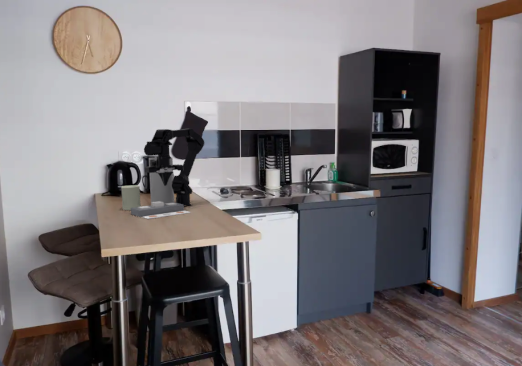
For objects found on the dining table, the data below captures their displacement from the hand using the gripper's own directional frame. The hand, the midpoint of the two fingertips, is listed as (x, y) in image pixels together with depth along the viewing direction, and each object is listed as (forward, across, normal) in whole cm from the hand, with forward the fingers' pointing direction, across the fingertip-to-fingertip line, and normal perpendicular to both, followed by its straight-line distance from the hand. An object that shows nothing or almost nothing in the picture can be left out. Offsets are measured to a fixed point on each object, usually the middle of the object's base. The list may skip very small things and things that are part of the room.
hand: (165, 185), depth 222 cm
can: (+12, +12, -15) cm, 23 cm away
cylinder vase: (+12, -7, -18) cm, 23 cm away
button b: (+11, 0, +5) cm, 12 cm away
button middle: (+9, +7, +5) cm, 13 cm away
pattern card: (+12, +7, +14) cm, 20 cm away
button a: (+11, +14, +5) cm, 18 cm away
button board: (+12, +7, +5) cm, 15 cm away
